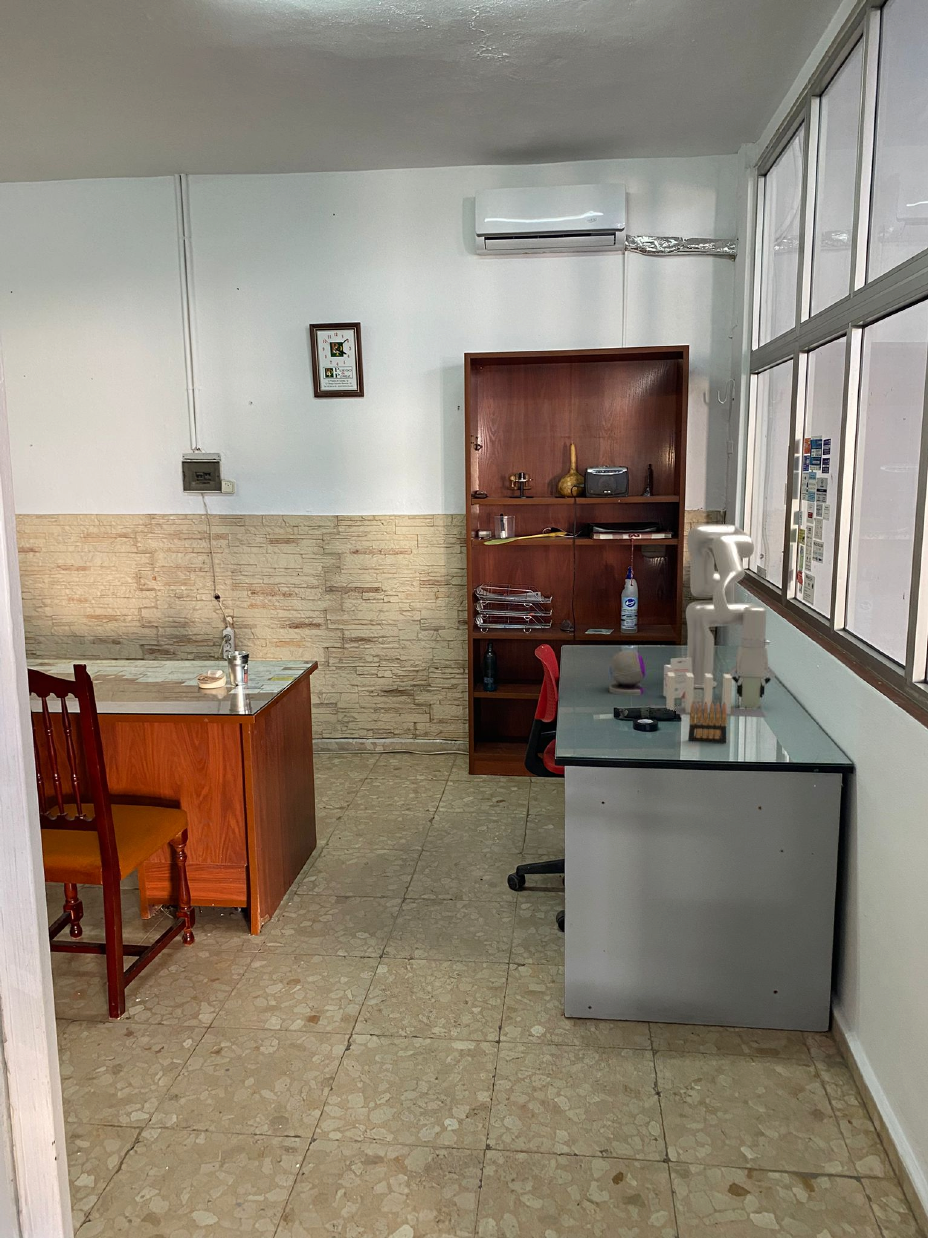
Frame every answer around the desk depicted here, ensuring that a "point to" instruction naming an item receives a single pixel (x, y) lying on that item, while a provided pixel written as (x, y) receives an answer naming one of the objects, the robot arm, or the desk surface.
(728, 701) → the cream domino
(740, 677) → the robot arm
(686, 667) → the ink cartridge box
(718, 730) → the ammunition clip
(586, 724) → the desk surface
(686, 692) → the cream domino
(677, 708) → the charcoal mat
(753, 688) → the sage domino
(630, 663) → the webcam
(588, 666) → the desk surface
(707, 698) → the cream domino
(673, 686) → the cream domino
